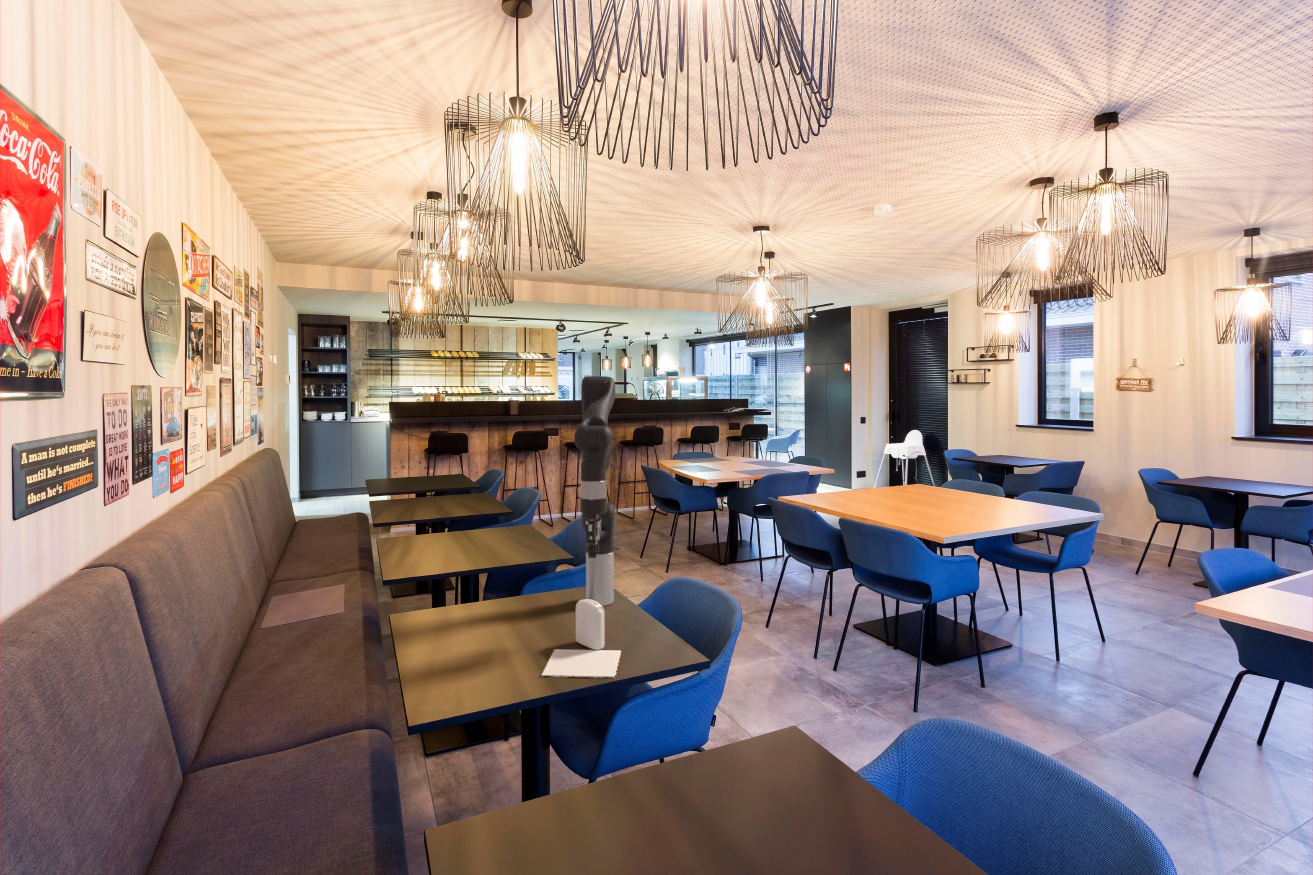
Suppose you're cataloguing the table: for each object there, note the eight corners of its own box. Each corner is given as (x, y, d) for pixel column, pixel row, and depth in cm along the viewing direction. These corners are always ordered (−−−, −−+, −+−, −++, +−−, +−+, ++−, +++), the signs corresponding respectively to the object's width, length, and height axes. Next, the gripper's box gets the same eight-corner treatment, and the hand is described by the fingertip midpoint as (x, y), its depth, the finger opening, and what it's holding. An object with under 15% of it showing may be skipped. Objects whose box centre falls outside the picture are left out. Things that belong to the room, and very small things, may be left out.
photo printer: (573, 641, 176) (573, 597, 176) (586, 638, 179) (586, 595, 179) (593, 651, 168) (594, 605, 168) (607, 648, 171) (607, 602, 171)
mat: (554, 650, 170) (554, 649, 170) (621, 652, 169) (621, 650, 169) (541, 676, 154) (541, 674, 154) (615, 678, 153) (615, 676, 153)
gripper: (584, 492, 187) (584, 549, 188) (576, 499, 172) (576, 561, 173) (609, 492, 186) (609, 549, 187) (603, 499, 172) (603, 561, 173)
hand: (593, 555), depth 180 cm, fingers open, 4 cm apart
